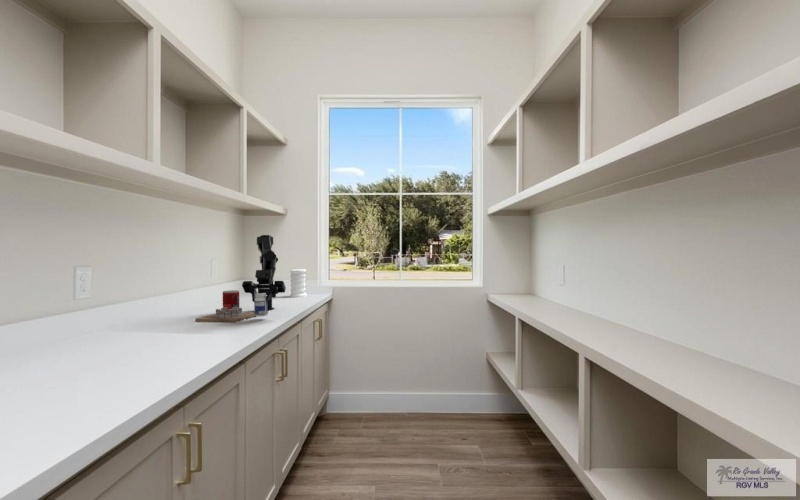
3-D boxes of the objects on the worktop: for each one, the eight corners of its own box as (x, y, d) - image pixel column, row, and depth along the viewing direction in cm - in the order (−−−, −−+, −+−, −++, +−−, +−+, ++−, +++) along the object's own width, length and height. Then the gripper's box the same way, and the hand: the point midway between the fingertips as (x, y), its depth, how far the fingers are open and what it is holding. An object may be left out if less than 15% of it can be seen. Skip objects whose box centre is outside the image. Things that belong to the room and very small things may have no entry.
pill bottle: (260, 314, 193) (260, 292, 193) (270, 314, 191) (270, 292, 191) (251, 316, 188) (251, 294, 188) (262, 316, 186) (261, 294, 185)
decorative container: (295, 297, 278) (295, 270, 278) (286, 296, 286) (285, 270, 286) (310, 296, 286) (310, 269, 286) (300, 295, 294) (300, 269, 294)
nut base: (223, 314, 206) (223, 305, 206) (260, 315, 201) (260, 306, 201) (195, 321, 186) (195, 311, 186) (235, 322, 182) (235, 312, 182)
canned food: (234, 314, 207) (234, 291, 207) (219, 313, 208) (219, 291, 208) (242, 311, 215) (242, 290, 215) (228, 311, 216) (227, 290, 216)
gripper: (243, 263, 193) (233, 290, 182) (283, 263, 193) (276, 289, 182) (249, 279, 201) (241, 305, 190) (288, 278, 201) (282, 305, 190)
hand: (259, 301), depth 188 cm, fingers closed on pill bottle, 6 cm apart
